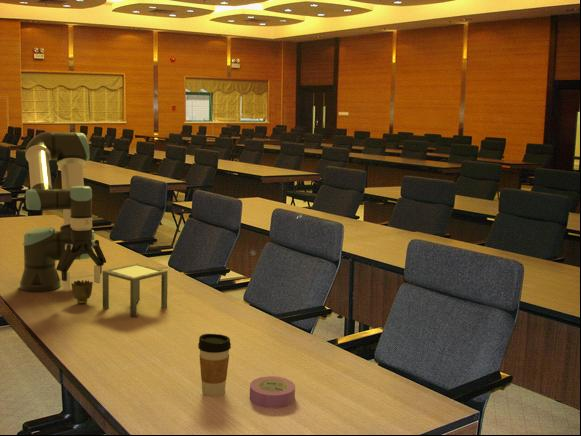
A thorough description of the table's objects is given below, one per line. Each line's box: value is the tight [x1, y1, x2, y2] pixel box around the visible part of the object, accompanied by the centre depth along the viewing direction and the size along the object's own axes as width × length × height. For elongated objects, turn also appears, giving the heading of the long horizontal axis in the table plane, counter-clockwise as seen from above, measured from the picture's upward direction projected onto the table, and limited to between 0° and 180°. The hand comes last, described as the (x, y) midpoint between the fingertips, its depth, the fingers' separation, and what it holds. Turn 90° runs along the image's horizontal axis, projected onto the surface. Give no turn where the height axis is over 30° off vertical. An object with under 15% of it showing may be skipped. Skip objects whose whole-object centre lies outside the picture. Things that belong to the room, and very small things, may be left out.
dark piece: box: [71, 279, 94, 305], centre depth 250 cm, size 8×7×8 cm
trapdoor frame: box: [102, 263, 168, 319], centre depth 246 cm, size 16×16×14 cm
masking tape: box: [249, 375, 296, 409], centre depth 175 cm, size 12×12×4 cm
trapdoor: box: [111, 265, 158, 277], centre depth 245 cm, size 12×12×1 cm
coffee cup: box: [197, 333, 232, 398], centre depth 177 cm, size 8×8×15 cm
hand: (82, 285), depth 249 cm, fingers open, 13 cm apart
